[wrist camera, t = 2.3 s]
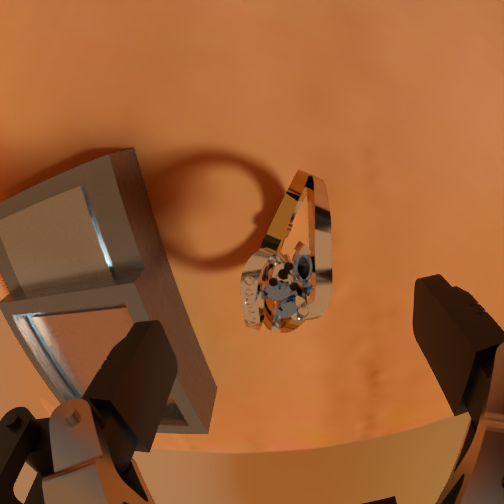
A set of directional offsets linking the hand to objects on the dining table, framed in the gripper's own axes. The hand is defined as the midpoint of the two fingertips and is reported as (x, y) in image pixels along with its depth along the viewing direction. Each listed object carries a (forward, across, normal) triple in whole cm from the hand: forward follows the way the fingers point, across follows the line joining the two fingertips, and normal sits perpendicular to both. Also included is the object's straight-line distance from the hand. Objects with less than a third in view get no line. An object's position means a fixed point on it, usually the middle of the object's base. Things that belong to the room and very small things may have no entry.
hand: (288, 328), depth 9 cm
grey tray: (+9, +13, +2) cm, 16 cm away
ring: (+9, 0, 0) cm, 9 cm away
